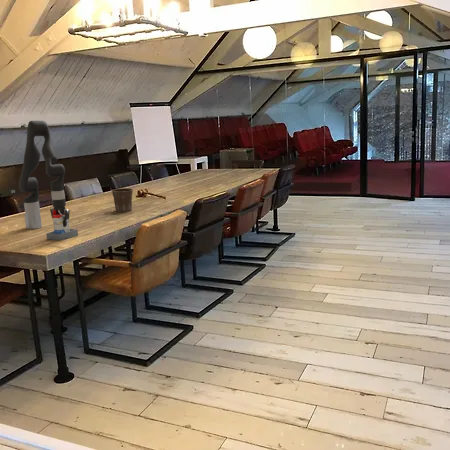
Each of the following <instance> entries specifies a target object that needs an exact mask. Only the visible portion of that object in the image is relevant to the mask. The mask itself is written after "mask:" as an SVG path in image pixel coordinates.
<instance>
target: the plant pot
mask: <svg viewBox="0 0 450 450" xmlns="http://www.w3.org/2000/svg"><path fill="white" fill-rule="evenodd" d="M133 190H134V188H127V187H126V188H125V187H124V188H123V187H121V188H115V189H112V190H111V193H112V197H113V203H114V208H115V212H120V213H124V212H125V213H126V212H129V211H132V210H133V207H132V205H133V192H134V191H133Z"/></svg>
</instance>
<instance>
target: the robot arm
mask: <svg viewBox="0 0 450 450" xmlns="http://www.w3.org/2000/svg"><path fill="white" fill-rule="evenodd" d="M35 137H43V138H44V142H43V145H42V148H41V151H40V150H39V148H38V146H37V144H36V143H35ZM25 143H26V144H25V150H24V156H23V163H22V170H21V173H20V177H19V181H18V188H19V191H20V192H22V193H29V194H28V195H27V196H25V197H24V198H23V206H24V223H25V228H26V229H27V230H29V229H32V230H34V229H35V230H36V229H40V228H42V217H41V216H42V215H41V209H40V194H39V184H38V183H39V181H38V180H37V178H36V177H35V176H32V177H31V175H32V173H33V172H34V171H35V170H36V169H37V167H38V166H39V164H40V160H41V154H42V156H43V159H44V163H45V174H46V175H47V176H48V177H50V178H54V177H57V178H56V179H53V180H51V182H50V190H51V204H52V207H53V208H50V209H49V211H50V212H49V213H50V216H51V219H52V220H53V212H52V211H53V210H55V213H56V215H57V214H59V215H61V217H62V220H63V227H66V226H67V220H68V219H69V220H70V212H71V210H70V209H66V206H67V205H66V203H67V202H66V194H65V189H64V179H65V173H66V168H65V166H64V165H63V164H61V163H57V162H58V156H57V155H56V151H55V149H54V146H53V142H52V137H51V133H50V129H49V125H48V123H47V121H45V120H29V122H28V124H27V131H26V142H25ZM56 163H57V164H56ZM63 214H65V215H63Z"/></svg>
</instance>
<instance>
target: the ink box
mask: <svg viewBox="0 0 450 450" xmlns="http://www.w3.org/2000/svg"><path fill="white" fill-rule="evenodd" d="M52 212H53V219H52V222H53V231H54V232H55V234H62V233H66V232H69V231H70V229H71V227H70V218H69V219H68V220H67V226H66V227H63V220H62V217H61V215H59V214H57V215H56V213H55V210H53V211H52ZM63 215H65V214H63Z"/></svg>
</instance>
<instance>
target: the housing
mask: <svg viewBox="0 0 450 450" xmlns="http://www.w3.org/2000/svg"><path fill="white" fill-rule="evenodd" d="M77 236H79V231H78V229H77V228H70V231H69V232H66V233H62V234H55V232H54V230H53V231H50V232H46V240H50V241H51V240H52V241H59V242H60V241H64V240H67V239H70V238H74V237H77Z"/></svg>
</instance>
